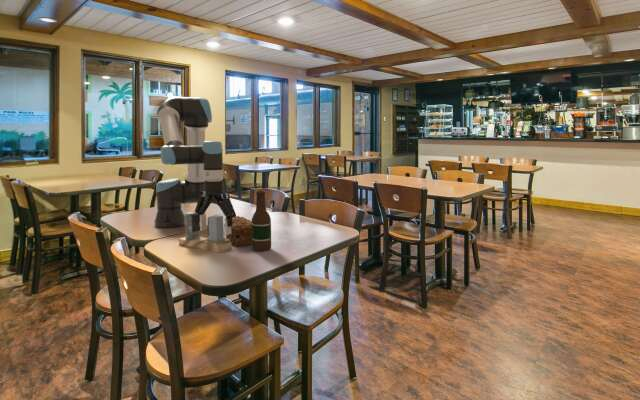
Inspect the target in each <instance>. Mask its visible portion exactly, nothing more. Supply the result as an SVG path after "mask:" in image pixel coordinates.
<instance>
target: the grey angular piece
mask: <svg viewBox="0 0 640 400" xmlns="http://www.w3.org/2000/svg"><path fill="white" fill-rule="evenodd" d="M183 214H184V219H185V225H184V232H185V233H184V234H185V236H184V237H179V238H178V245H180V246H185V247H190V248H195V249H199V250H203V251H204V250H205V251H210V252H214V253H222V252H225V251H227V250H231V249H232V243H231V241H230V239H228V238H224V241H221V242H218V243H217V242H212V241H209V237H203V236H200V222H199V214H198V213H195V211H190V212H183Z"/></svg>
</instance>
